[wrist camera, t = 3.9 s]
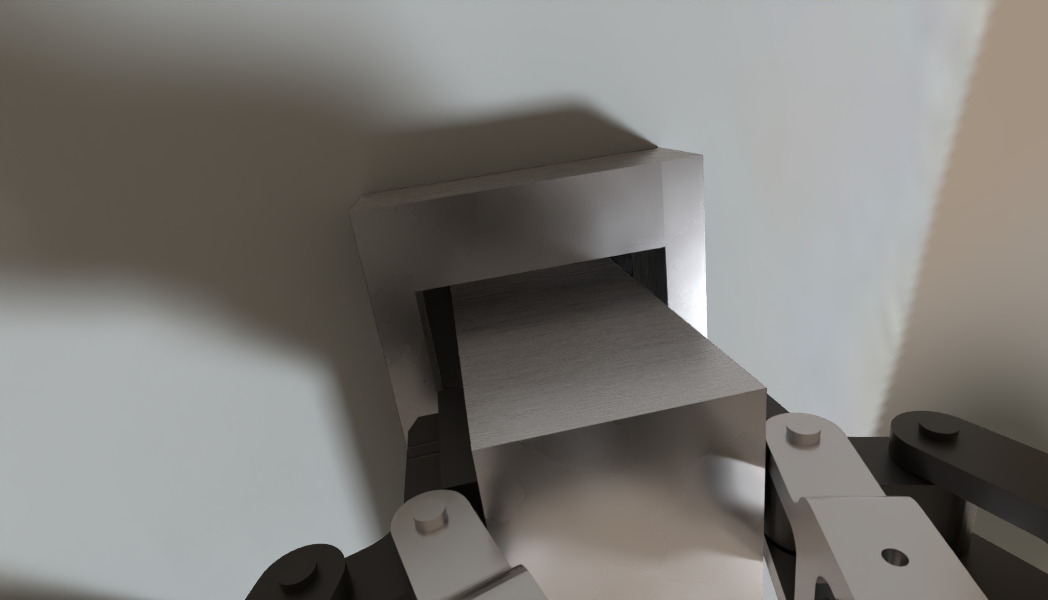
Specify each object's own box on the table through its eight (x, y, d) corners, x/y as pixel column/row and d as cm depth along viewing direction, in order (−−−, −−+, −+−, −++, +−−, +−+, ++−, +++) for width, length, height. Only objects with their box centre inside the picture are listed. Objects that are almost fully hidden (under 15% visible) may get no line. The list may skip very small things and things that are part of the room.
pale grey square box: (449, 283, 15) (471, 450, 8) (606, 255, 16) (766, 387, 8) (476, 422, 17) (515, 671, 9) (618, 392, 17) (762, 607, 10)
